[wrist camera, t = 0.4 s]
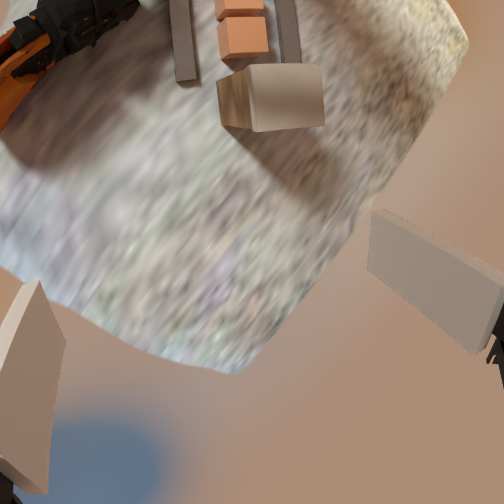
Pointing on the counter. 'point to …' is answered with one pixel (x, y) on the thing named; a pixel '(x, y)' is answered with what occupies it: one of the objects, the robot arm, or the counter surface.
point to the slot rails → (185, 45)
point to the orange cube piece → (237, 8)
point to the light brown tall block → (272, 97)
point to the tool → (51, 42)
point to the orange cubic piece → (242, 37)
